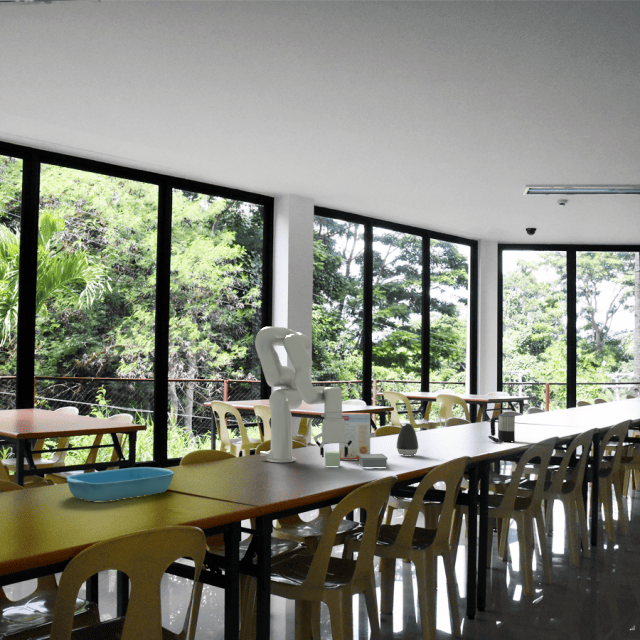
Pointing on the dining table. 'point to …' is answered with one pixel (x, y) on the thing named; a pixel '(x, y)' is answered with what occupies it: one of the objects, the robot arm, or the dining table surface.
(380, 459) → the grey storage box
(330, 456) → the green cube
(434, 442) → the dining table surface
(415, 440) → the dark grey rounded piece
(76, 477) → the casserole dish
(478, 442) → the dining table surface
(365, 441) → the cracker box
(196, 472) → the dining table surface
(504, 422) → the milk frother
